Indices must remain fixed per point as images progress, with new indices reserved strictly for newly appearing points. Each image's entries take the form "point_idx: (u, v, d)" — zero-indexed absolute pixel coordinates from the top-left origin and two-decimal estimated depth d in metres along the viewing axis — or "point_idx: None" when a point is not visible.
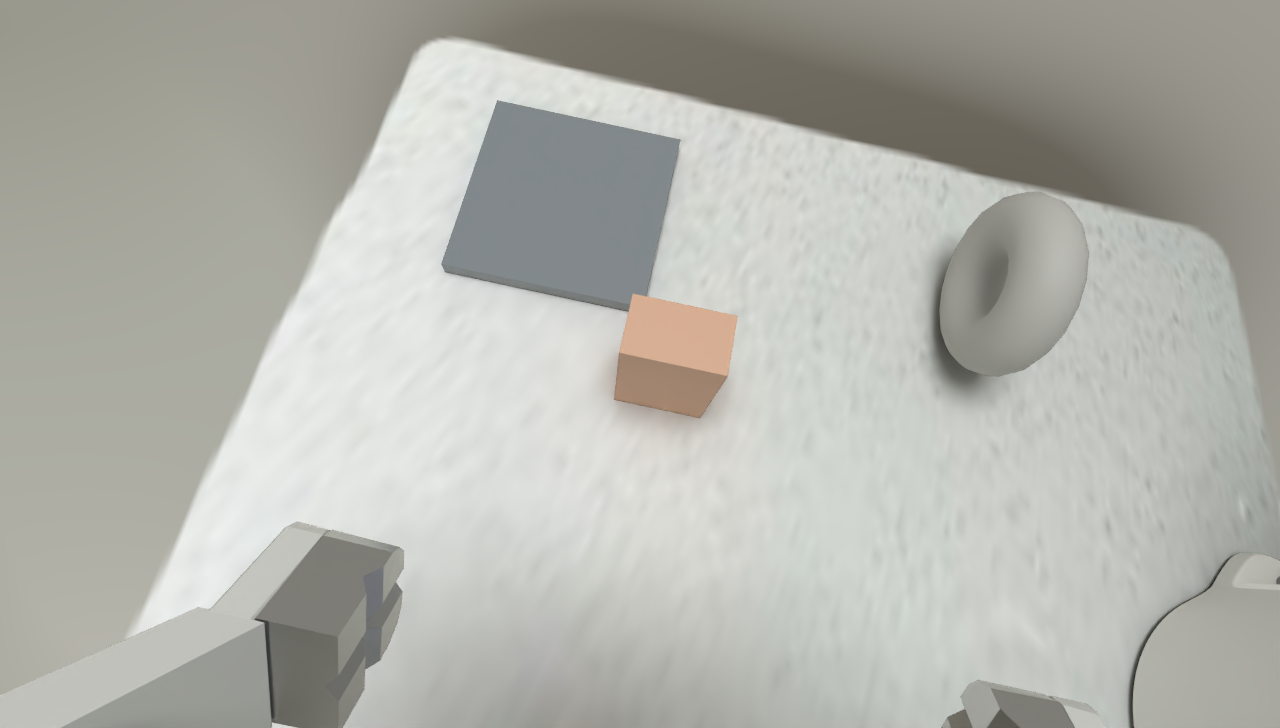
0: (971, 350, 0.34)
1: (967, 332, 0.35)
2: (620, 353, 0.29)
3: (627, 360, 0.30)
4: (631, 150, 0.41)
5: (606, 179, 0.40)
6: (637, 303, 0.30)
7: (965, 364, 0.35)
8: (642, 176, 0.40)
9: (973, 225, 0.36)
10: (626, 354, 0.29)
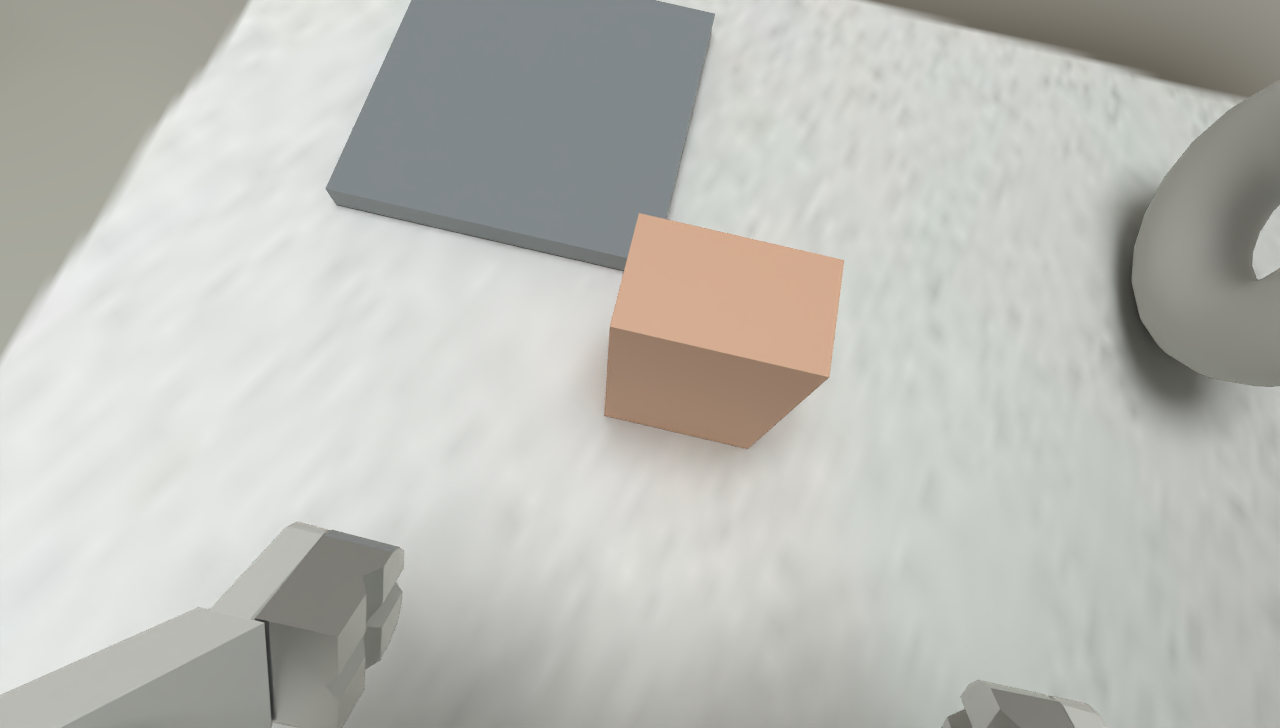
0: (1233, 340, 0.19)
1: (1220, 309, 0.20)
2: (612, 328, 0.14)
3: (625, 342, 0.15)
4: (639, 26, 0.26)
5: (599, 67, 0.25)
6: (647, 231, 0.15)
7: (1207, 365, 0.21)
8: (655, 65, 0.26)
9: (1212, 132, 0.22)
10: (623, 329, 0.14)
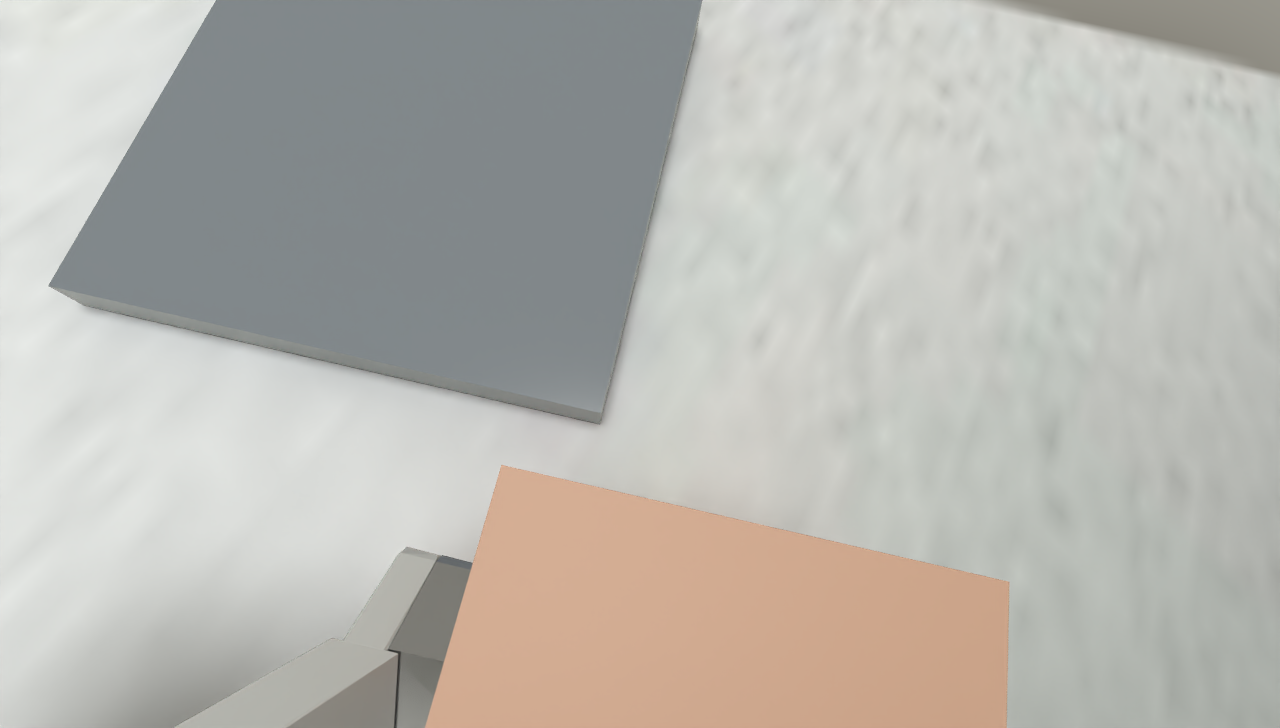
0: None
1: None
2: None
3: None
4: (586, 17, 0.17)
5: (521, 81, 0.16)
6: (519, 517, 0.06)
7: None
8: (609, 77, 0.16)
9: None
10: None
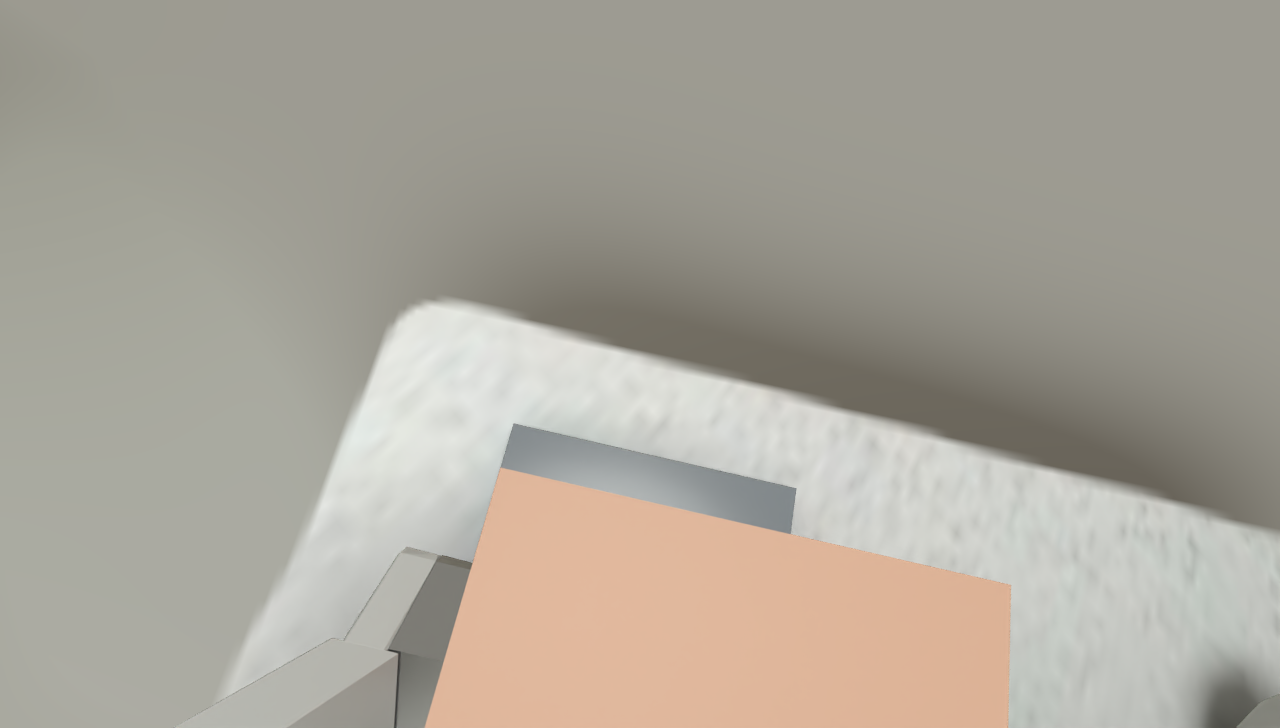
0: None
1: None
2: None
3: None
4: (722, 510, 0.26)
5: None
6: (518, 519, 0.06)
7: None
8: None
9: None
10: None
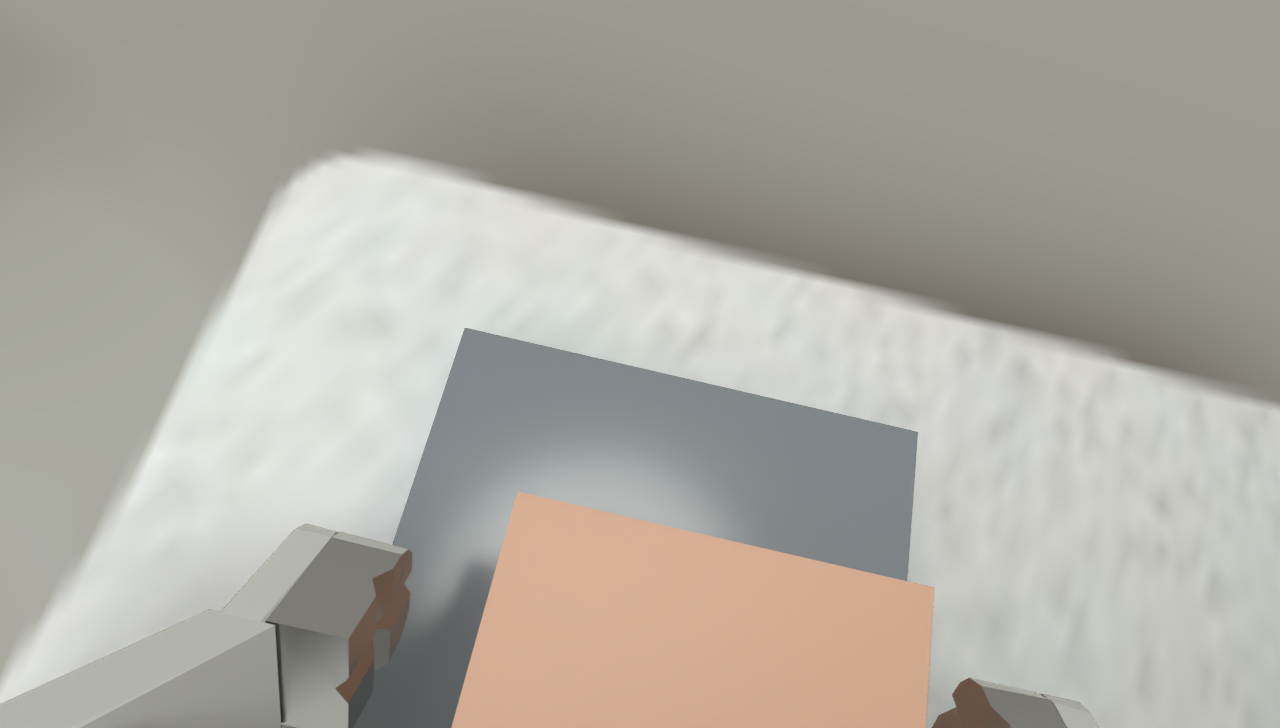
0: None
1: None
2: None
3: None
4: (801, 465, 0.16)
5: None
6: (532, 534, 0.07)
7: None
8: (834, 546, 0.15)
9: None
10: None
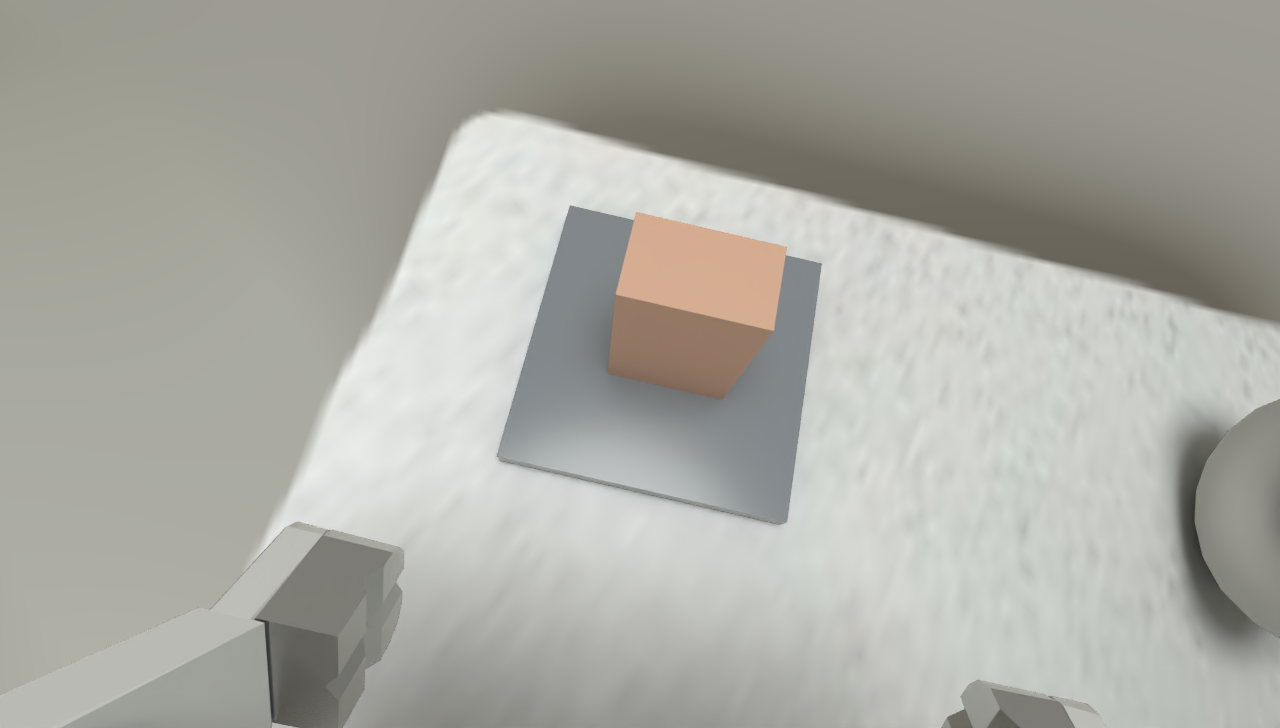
0: None
1: None
2: (617, 295, 0.20)
3: (626, 307, 0.20)
4: None
5: None
6: (642, 225, 0.21)
7: (1269, 628, 0.24)
8: None
9: (1272, 418, 0.25)
10: (625, 297, 0.20)
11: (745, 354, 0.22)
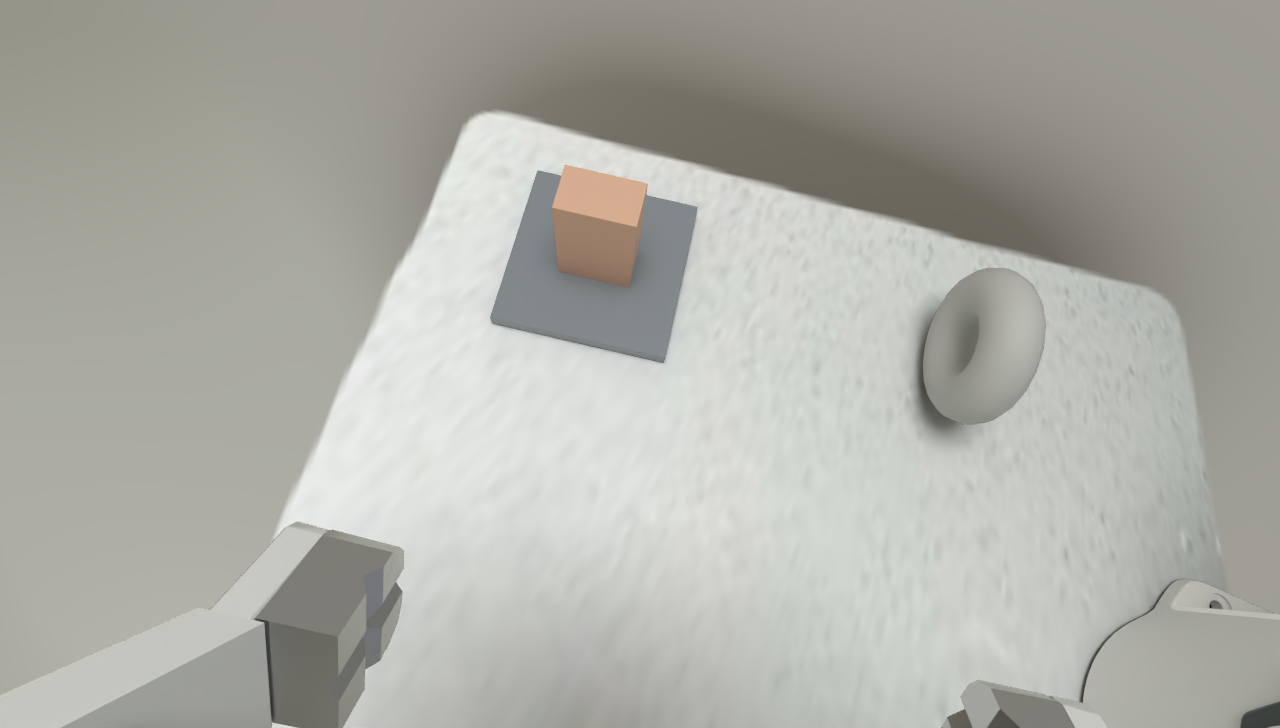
0: (947, 402, 0.40)
1: (945, 386, 0.40)
2: (553, 208, 0.37)
3: (559, 216, 0.37)
4: (655, 216, 0.46)
5: None
6: (568, 171, 0.38)
7: (943, 413, 0.41)
8: (664, 240, 0.46)
9: (952, 292, 0.42)
10: (557, 209, 0.37)
11: (629, 246, 0.39)
